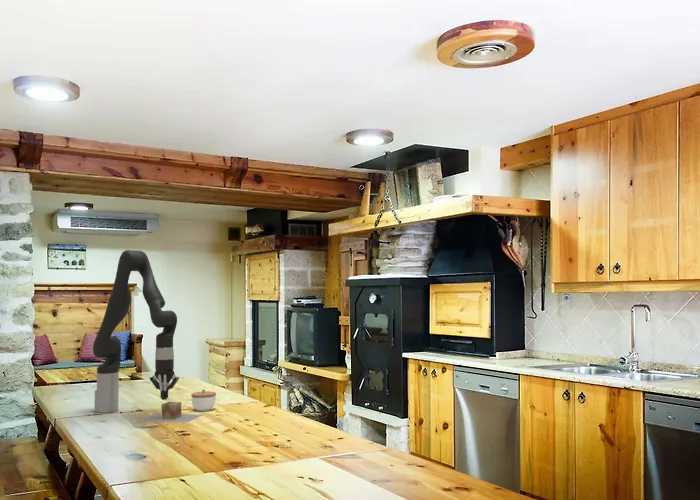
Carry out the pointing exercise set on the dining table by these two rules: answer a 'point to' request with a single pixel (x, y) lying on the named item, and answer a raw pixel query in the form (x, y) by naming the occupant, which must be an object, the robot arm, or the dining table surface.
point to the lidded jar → (203, 400)
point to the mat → (181, 419)
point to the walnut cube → (171, 410)
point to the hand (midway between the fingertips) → (164, 399)
